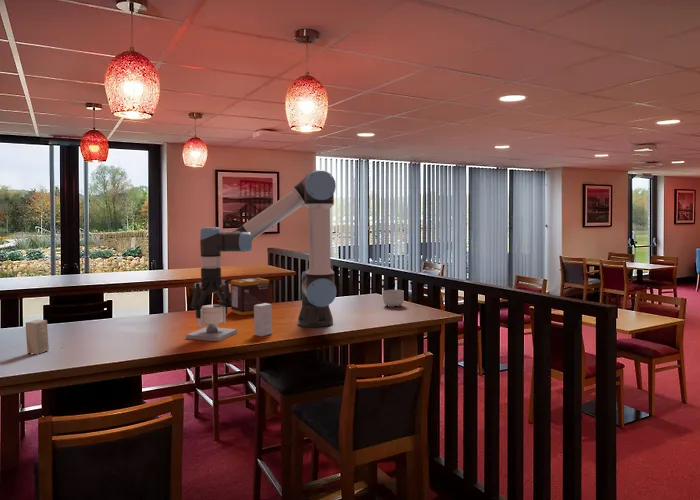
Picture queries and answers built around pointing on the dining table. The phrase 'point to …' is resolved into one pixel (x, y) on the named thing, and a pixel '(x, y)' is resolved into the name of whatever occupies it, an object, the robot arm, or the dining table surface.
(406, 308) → the dining table surface
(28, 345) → the box
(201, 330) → the board
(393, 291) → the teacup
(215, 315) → the white lidded jar
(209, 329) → the post
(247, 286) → the supplement box
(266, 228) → the robot arm
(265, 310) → the skincare box
